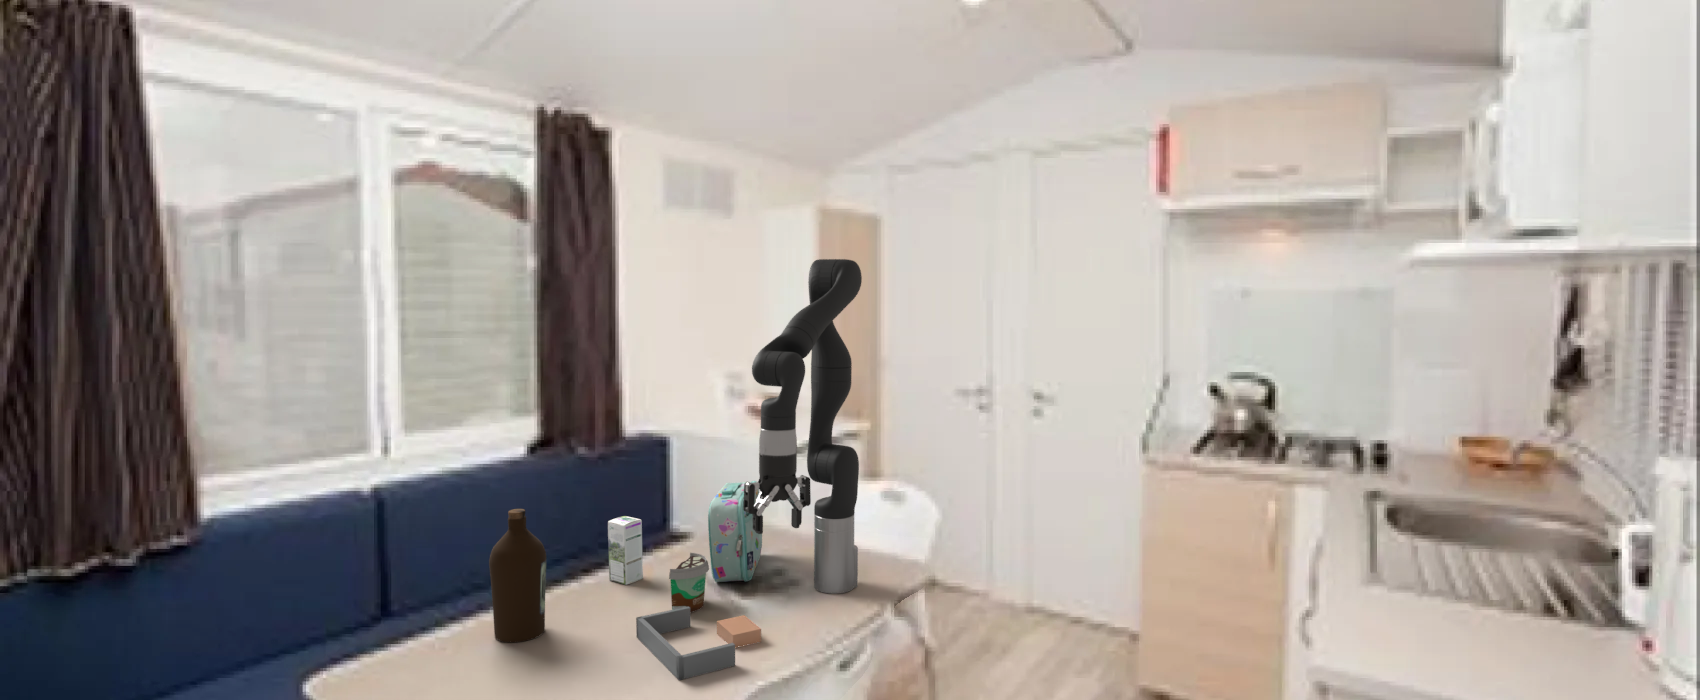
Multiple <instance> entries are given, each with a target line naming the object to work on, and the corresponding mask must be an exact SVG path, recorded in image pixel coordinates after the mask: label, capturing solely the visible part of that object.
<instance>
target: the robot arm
mask: <svg viewBox="0 0 1700 700" xmlns="http://www.w3.org/2000/svg"><path fill="white" fill-rule="evenodd" d="M809 268H810V269H809V272H808V282H807V283H808V284H807V285H808V297H809V304H808V305H807V306H805V307H804V308H802V309H801V310H799V311H798V312H797V313H795V314H794V315H793V316H792V318H790V320H789V321H788V323H787V324H786V326H785V327H784V328H783V330H782V332H781V333H780V334H779V336H778V335H777V337H775V338H773V339H772V341H770V342H768V344H766V345H765V346H764V347H763V348H761V349H760V350H759V352H758V353H757V354H756V355H755V357H754V360H753V361H752V365H751V374H752V377H753V380H754V381H755V382H756V383H758V384H759V385H761V386H766V387H780V388H781V390H780V392H779V394H778V396H775V397H770V398H766V399H764V400H763V401H762V402H761V405H760V432H759V438H758V439H759V440H758V446H759V447H758V451H759V453H758V474H759V479H758V481H757V482H754V483H750V482H751V481H744V482H745V484H744V503H743V510H744V511H746V512H748V513H749V514H752V515H753V530H755V532H756V533H758V534H762V535H763V532H764V516H763V513H764V511H765V510H766V508H768V507H769V505H770V504H771V502H772V503H775V502H779V501H783V502H784V501H788V503H790V505H791V506H792V508H791V521H790V522H791V527H792V528H794V529H799V528H800V526H801V525H802V518H803V508H805V507H809V506H810V505H811V502H812V497H811V495H812V494H811V480H812V482H813V481H814V482H815V483H820V484H825V485H830V486H832V488H831V495H830V496H826V497H821V498H819V499H817V500H816V501H815V502H814V509H813V511H814V513H813V514H814V517H813V520H814V522H813V523H814V524H813V526H814V527H813V531H814V532H813V533H814V536H813V539H814V540H813V547H814V549H813V553H814V555H813V556H814V557H813V561H814V563H813V564H814V565H813V587H814V589H815V590H816V591H818V592H821V593H825V594H843V593H844V594H845V593H847V592H850V591H852V590H853V589H854V588H857V587H858V585H859V584H858V581H859V580H858V579H859V575H858V573H859V572H858V570H859V567H858V566H859V563H858V561H859V553H858V552H859V548H858V546H857V545H855V514H856V512H855V510H856V509H855V508H856V505H857V500H858V491H859V490H858V488H859V474H860V473H859V472H860V461H859V455H858V453H857V451H856V450H855V448H854V447H851V446H848V445H843V444H835V443H833V427H834V422H835V419H836V416H837V415H838V413H839V411H840V409H841V408H842V407H843V405H844V403H845V401H846V399H847V398H848V396H849V393H850V392H851V388H852V369H853V368H852V367H853V366H852V363H853V362H852V357H851V353H850V352H849V350H848V347H847V346H846V344H845V342H844V340H843V338H842V336H841V335H840V333H839V332H838V330H837V328H836V326H835V323H834V320H835V319H836V318H837V317H838V316H839V315H840V314H841V313H842V312H843V311H844V310H845V309H846V308H847V307H848V305H850V303H851V302H852V301H854V299H855V298H856V297H857V295H859V294H858V293H859V292H860V290H861V287H862V283H863V282H862V279H863V278H862V277H863V276H862V271H861V267H860V266H859V264H858V263H857V261H855V260H851V259H845V258H838V259H837V258H835V259H834V258H831V259H830V258H829V259H828V258H821V259H819V258H818V259H816V260H814V261H813V262H812V263H811V265H810V267H809ZM809 354H811V357H810V358H811V363H810V389H811V392H810V393H811V398H810V399H811V400H810V401H811V402H810V425H809V434H808V435H809V436H808V443H807V455H806V467H807V473H808V476H809V477H808V476H806V475H803V474H801V475H799V477H797V475H796V474H797V466H798V465H797V464H798V463H797V457H798V455H797V452H798V451H797V449H798V445H797V444H798V438H797V429H796V427H797V426H796V425H797V423H796V422H797V420H796V417H797V412H796V411H797V405H798V402H799V397H800V394H801V393H800V392H801V389H802V386H803V383H804V379H805V376H806V363H805V361H804V359H805V358H807V357H808V355H809ZM796 487H799V497H798V496H797V494H796V493H795V491H794V490H795V489H796ZM757 489H759V496H758V497H757V499H756V503H755V505H754V499H755V493H756V492H757Z"/></svg>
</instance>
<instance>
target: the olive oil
mask: <svg viewBox="0 0 1700 700" xmlns="http://www.w3.org/2000/svg"><path fill="white" fill-rule="evenodd" d="M507 513H508V515H507V516H508V518H507V526H508V527H507V531H506V532H505V533H504V534H503V535H502V536H501V538H500V539H499V540H498V541H497V542H496V543H495V544H494V545H493V547H492V549H491V551H490V554H489V559H488V566H489V567H488V568H489V576H490V588H491V600H492V612H493V613H492V615H493V616H492V617H493V628H494V629H493V630H494V631H493V632H494V637H495V639H496V640H497V639H498V640H497V641H499V640H500V641H499V642H502V641H503V643H523V642H527V641H531V640H533V639H536V638H538V637H540V636H541V635H543V633H545V629H546V625H545V624H546V588H547V586H546V585H547V580H546V579H547V552H546V549H545V548H546V547H544V544H543V542H542V541H541V540H540V539H539V538H538V537H537V536H536V535H534V534H533V533H532V532H531V531H530V530H529V529H528V528H527V516H526V510H525V509H524V508H514V509H510V510H508V512H507Z"/></svg>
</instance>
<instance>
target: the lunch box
mask: <svg viewBox="0 0 1700 700" xmlns="http://www.w3.org/2000/svg"><path fill="white" fill-rule="evenodd" d="M745 482H746V481H743V482H742V481H741V482H740V481H739V482H726V483H725V484H724V485H723V486H722V487H721V489H720V490H718V492H717V494H716V495H715V496H714V497H713V498H712V500H711V502H710V504H709V508H708V511H707V512H708V515H707V516H708V517H707V521H708V522H707V523H708V524H707V527H708V529H707V530H708V541H709V542H708V545H709V547H708V548H709V556H710V571H711V575H712V578H713V579H714V582H716V583H720V582H721V583H722V582H725V583H726V582H737V581H738V582H749V581H751V580H752V578H753V576H754V572H755V570H756V568H757V567H758V563H759V560H760V558H761V555H762V549H763V533H762V534H758V533H756V532H755V530H753V515H752V514H749V513H748V512H746V511H744V510H743V503H744V484H745ZM749 482H750V483H754V482H758V481H757V480H752V481H749ZM759 494H760V490H759V488H758V489H757V492H756V493H755V499H754V505H755V503H756V499H757V497H758V496H759ZM713 579H712V580H713ZM743 580H744V581H743Z"/></svg>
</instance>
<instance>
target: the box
mask: <svg viewBox="0 0 1700 700" xmlns="http://www.w3.org/2000/svg"><path fill="white" fill-rule="evenodd" d="M635 620H636V623H635V625H636V638H637V639H638V640H639V641H640V642H641V643H642V644H643V645H644V646H645V647H646V648H647V649H648V651H650V652H651V654H652V655H653V656H654V657H656V659H657V660H658V661H659V662H660V663H661V664H662V665H663V666H664V667H665V668H666V669H667V670H668V671H669V672H670V673H671V674H672V675H673V676H674V677H675V678H676V679H677V680H678V681H682V680H686V679H689V677H690V678H694V677H697V675H698V676H700V675H704V674H705V675H706V674H708V673H709V674H710V673H713V672H716V671H721V670H723V669H724V668H725V669H728V668H731V667H730V666H732V667H735V666H736V648H735V644H734V643H730V644H727V643H726V644H722V645H718V646H713V647H711V648H710V647H709V648H706V649H702V650H697V651H693V652H689V653H686V654H681V653H680V652H679V651H678V650H677V649H676V648H675V647H674V646H673V645H672V644H671V643H669V641H668V640H667V639H666V638H665V637H663V636H662V634H665V633H670V632H674V631H679V630H683V629H688V628H691V625H692V622H691V612H690V607H689V606H688V607H683V608H678V609H674V610H672V609H669V610H665V611H661V612H656V613H650V614H646V615H641V616H636V617H635ZM734 665H735V666H734ZM727 667H728V668H727ZM693 676H694V677H693ZM685 678H686V679H685Z"/></svg>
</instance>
